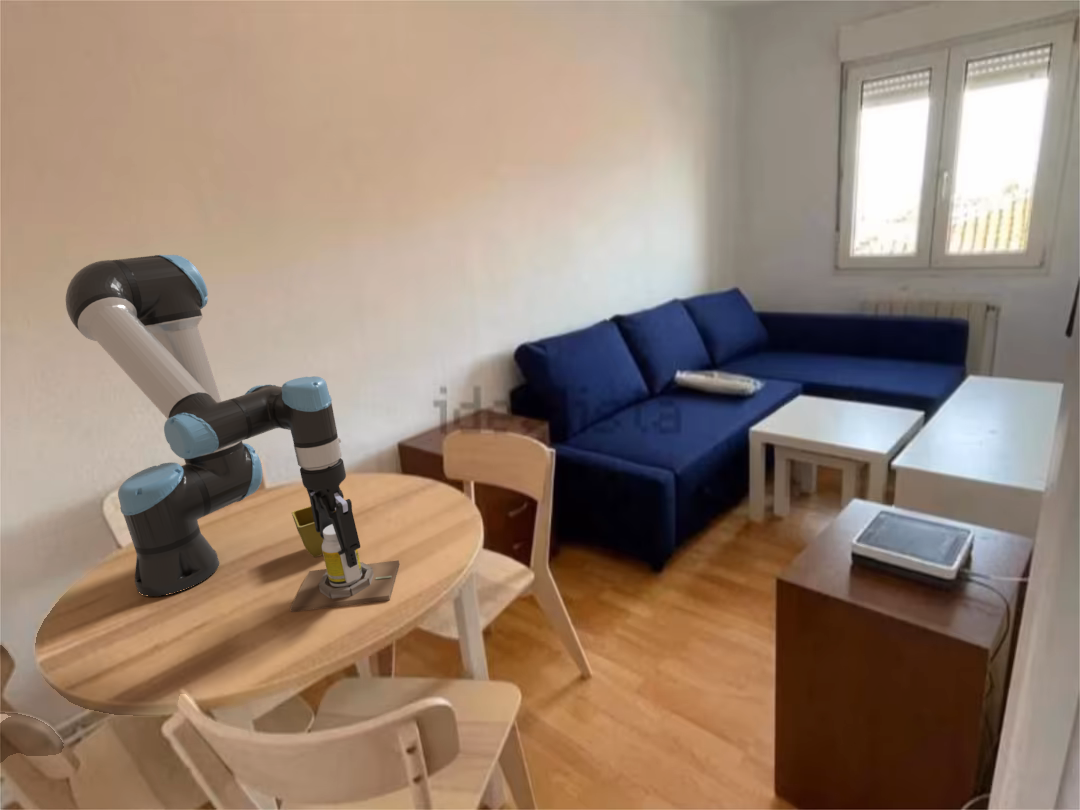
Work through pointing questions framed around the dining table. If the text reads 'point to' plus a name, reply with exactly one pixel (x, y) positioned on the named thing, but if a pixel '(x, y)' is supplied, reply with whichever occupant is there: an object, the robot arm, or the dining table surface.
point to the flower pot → (308, 531)
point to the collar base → (347, 588)
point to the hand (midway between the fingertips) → (344, 572)
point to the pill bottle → (335, 559)
